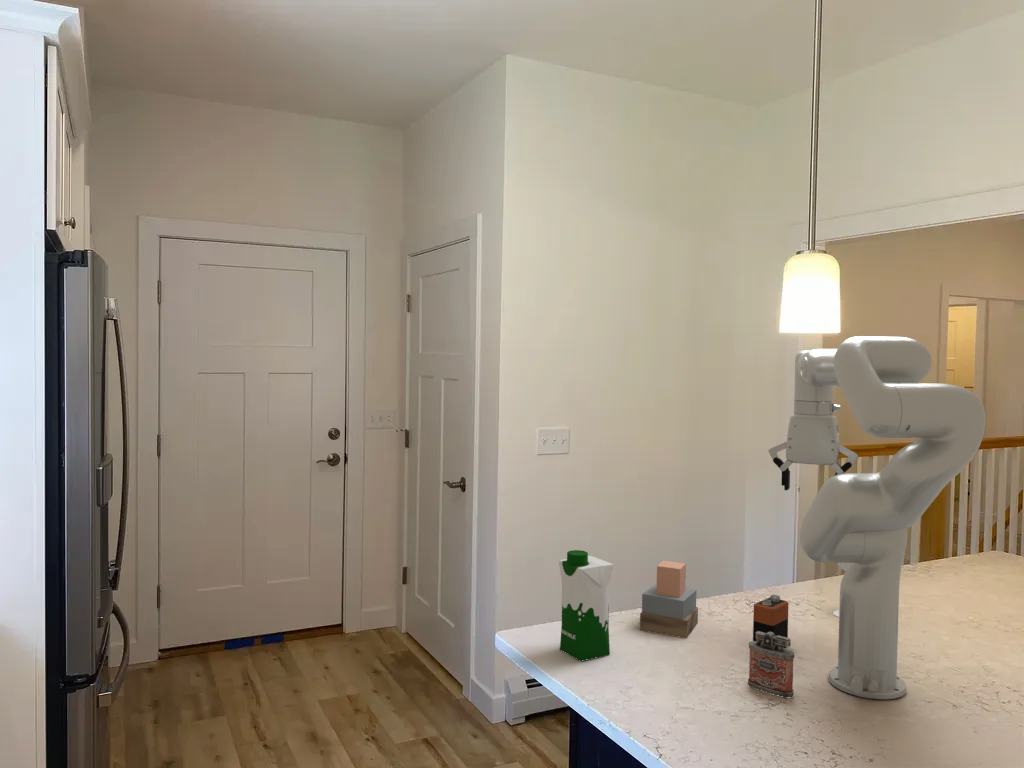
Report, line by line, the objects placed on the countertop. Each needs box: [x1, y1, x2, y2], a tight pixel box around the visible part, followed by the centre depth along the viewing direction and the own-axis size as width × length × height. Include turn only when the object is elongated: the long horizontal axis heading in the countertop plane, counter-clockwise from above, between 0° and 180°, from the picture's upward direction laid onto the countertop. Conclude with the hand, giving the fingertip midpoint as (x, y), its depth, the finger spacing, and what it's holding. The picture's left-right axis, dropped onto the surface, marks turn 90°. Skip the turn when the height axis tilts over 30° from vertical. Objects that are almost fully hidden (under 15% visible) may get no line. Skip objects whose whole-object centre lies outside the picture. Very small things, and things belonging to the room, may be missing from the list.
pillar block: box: [656, 560, 687, 597], centre depth 167 cm, size 5×5×6 cm
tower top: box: [641, 583, 697, 620], centre depth 168 cm, size 9×9×4 cm
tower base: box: [639, 606, 699, 639], centre depth 168 cm, size 10×10×4 cm
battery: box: [752, 594, 789, 648], centre depth 157 cm, size 4×7×10 cm, turn 134°
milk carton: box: [558, 549, 614, 662], centre depth 153 cm, size 9×9×20 cm
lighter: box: [747, 631, 796, 698], centre depth 137 cm, size 8×3×10 cm, turn 47°
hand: (811, 491), depth 163 cm, fingers open, 9 cm apart
